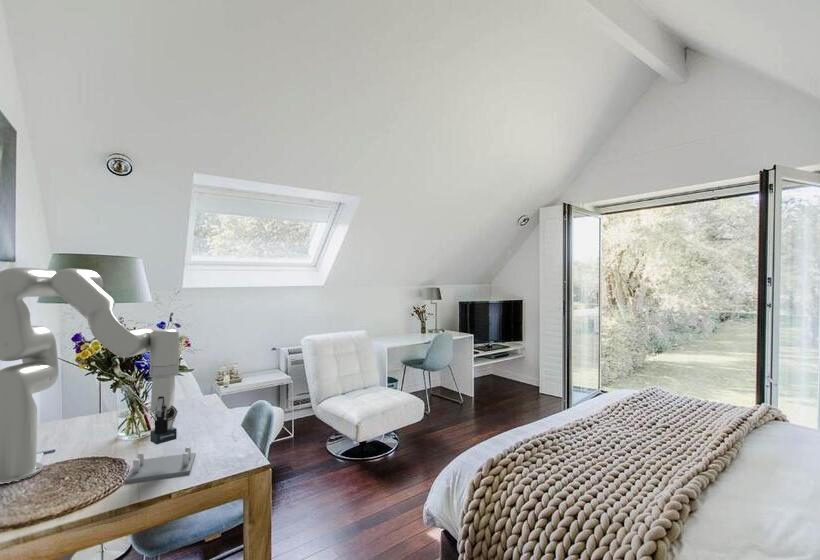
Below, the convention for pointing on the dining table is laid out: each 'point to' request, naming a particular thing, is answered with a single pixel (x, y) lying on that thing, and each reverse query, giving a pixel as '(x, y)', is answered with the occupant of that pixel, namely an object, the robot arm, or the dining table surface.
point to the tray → (161, 466)
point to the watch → (171, 430)
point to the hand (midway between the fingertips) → (163, 428)
